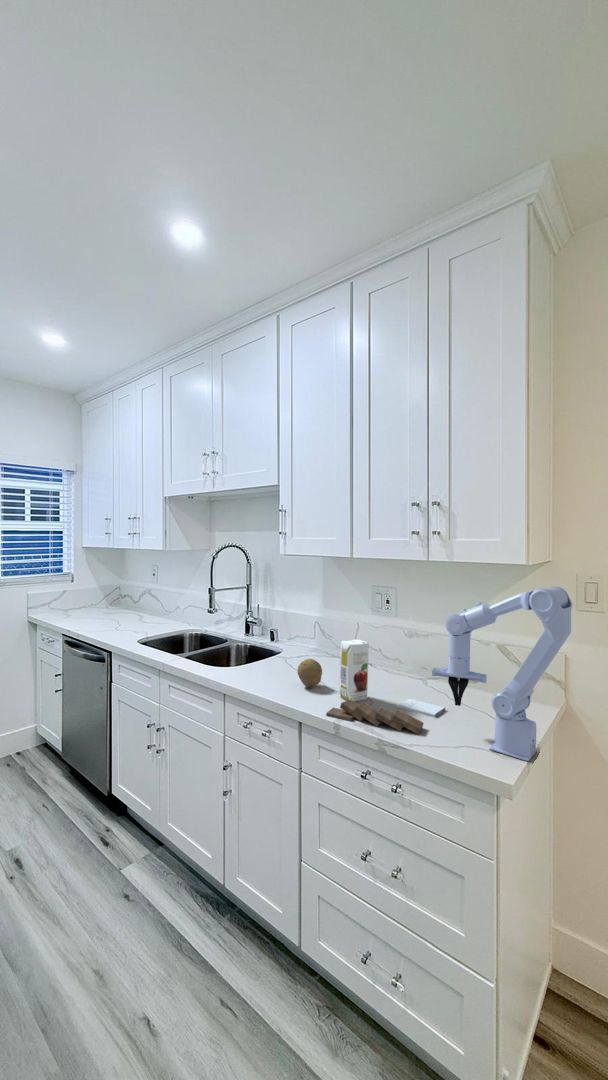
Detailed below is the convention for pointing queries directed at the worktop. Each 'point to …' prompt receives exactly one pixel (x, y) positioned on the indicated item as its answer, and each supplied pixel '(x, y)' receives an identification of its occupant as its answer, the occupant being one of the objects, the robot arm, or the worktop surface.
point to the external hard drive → (421, 707)
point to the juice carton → (354, 670)
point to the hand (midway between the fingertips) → (458, 704)
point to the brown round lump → (310, 672)
